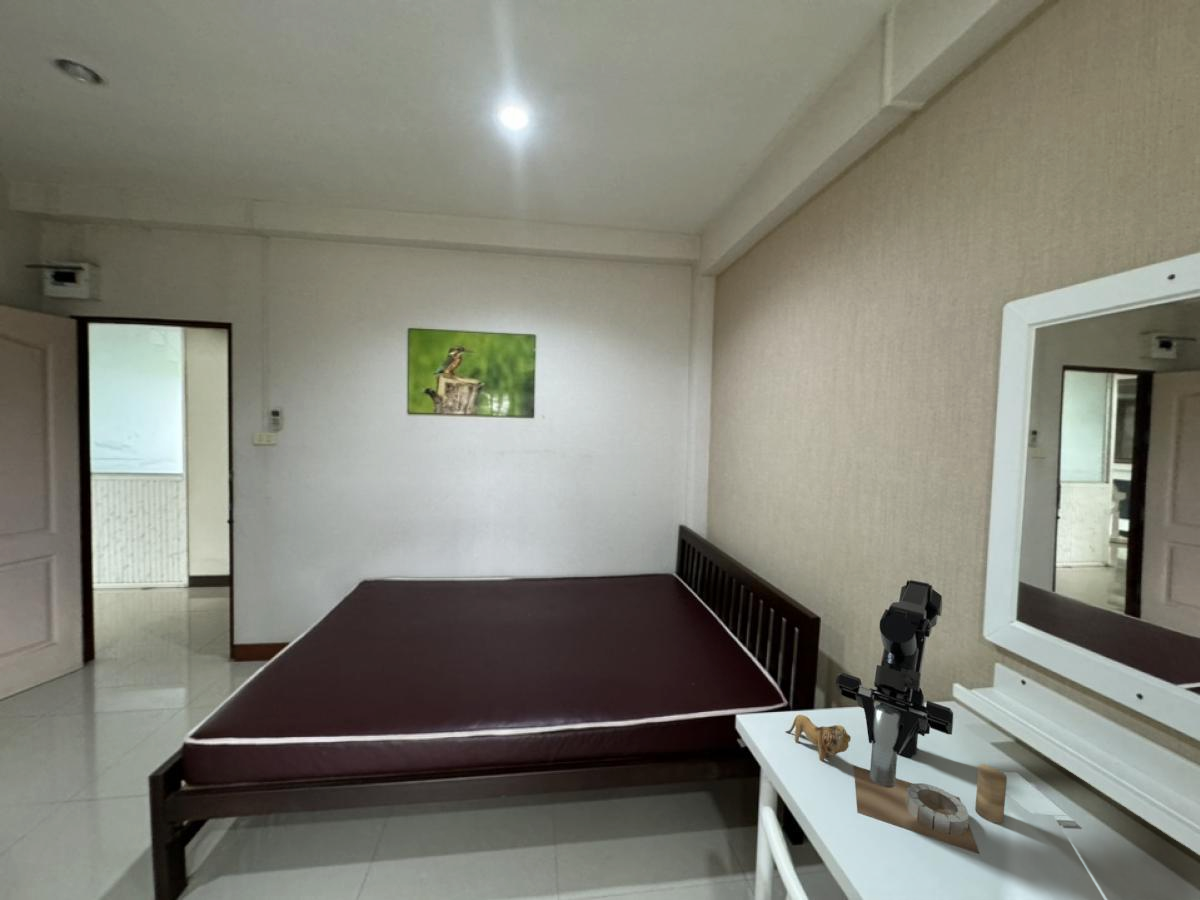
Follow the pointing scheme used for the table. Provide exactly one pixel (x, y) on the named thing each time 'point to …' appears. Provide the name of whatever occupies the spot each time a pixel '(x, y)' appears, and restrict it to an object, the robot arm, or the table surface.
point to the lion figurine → (822, 736)
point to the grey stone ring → (934, 820)
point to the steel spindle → (885, 745)
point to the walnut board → (901, 809)
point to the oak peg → (991, 794)
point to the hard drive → (1034, 799)
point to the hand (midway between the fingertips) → (883, 748)
